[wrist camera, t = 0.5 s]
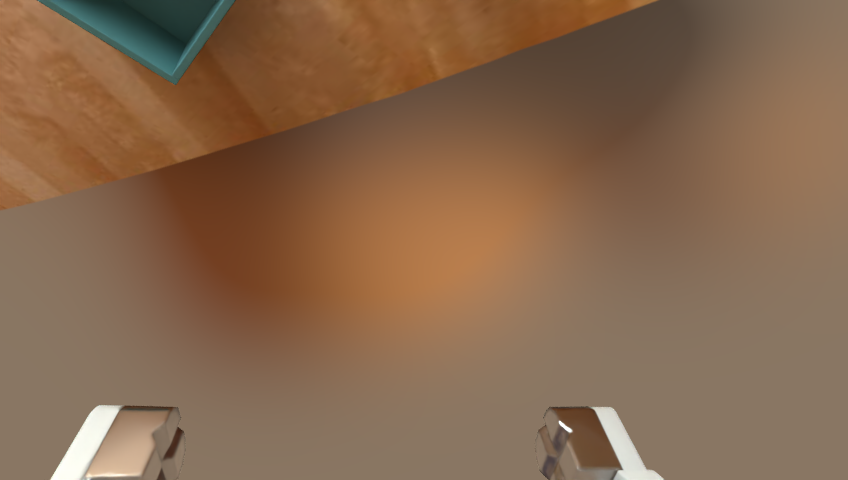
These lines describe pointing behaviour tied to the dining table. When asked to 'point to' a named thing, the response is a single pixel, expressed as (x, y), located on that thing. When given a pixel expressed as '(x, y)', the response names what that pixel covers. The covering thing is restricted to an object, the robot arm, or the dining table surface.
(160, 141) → the dining table surface
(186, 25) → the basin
